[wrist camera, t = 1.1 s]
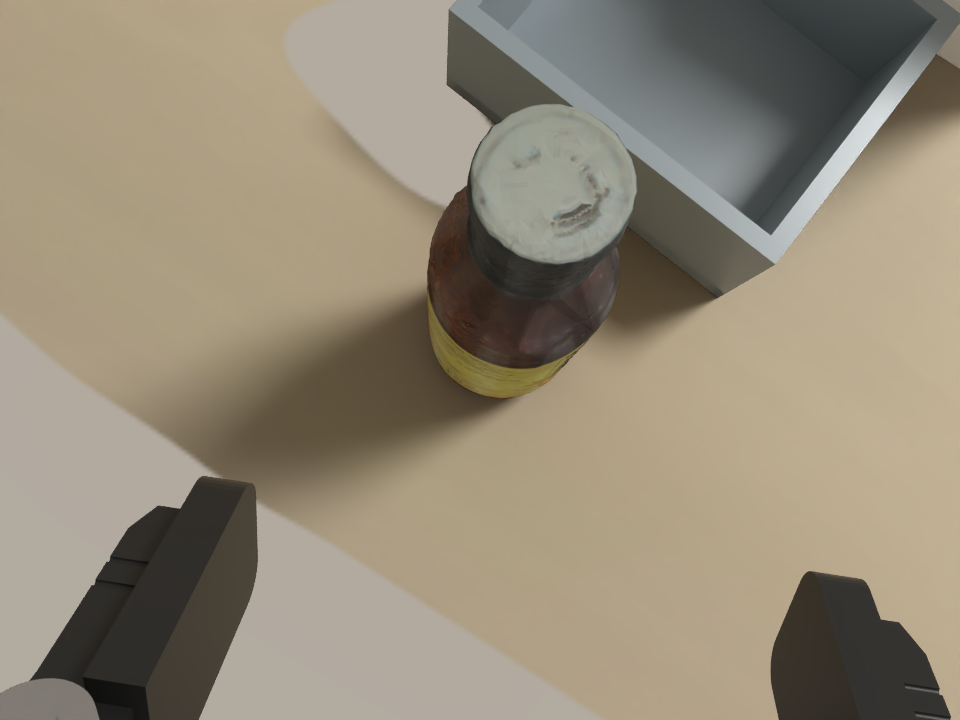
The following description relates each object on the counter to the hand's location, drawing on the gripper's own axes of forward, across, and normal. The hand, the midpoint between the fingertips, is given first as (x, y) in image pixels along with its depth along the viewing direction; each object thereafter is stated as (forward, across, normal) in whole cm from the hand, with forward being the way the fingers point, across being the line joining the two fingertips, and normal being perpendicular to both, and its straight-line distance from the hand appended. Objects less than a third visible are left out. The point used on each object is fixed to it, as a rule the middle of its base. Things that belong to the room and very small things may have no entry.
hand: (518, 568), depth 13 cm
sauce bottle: (+26, +1, +11) cm, 28 cm away
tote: (+34, -5, +1) cm, 34 cm away
